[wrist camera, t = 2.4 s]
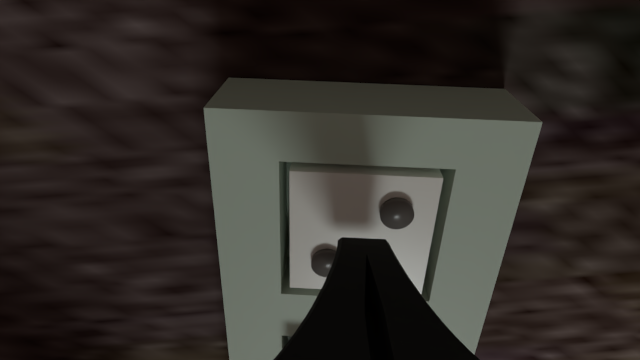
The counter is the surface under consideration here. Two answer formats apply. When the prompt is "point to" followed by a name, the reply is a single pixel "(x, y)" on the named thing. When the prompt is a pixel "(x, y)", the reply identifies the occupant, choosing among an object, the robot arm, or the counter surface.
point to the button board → (360, 149)
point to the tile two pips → (360, 215)
